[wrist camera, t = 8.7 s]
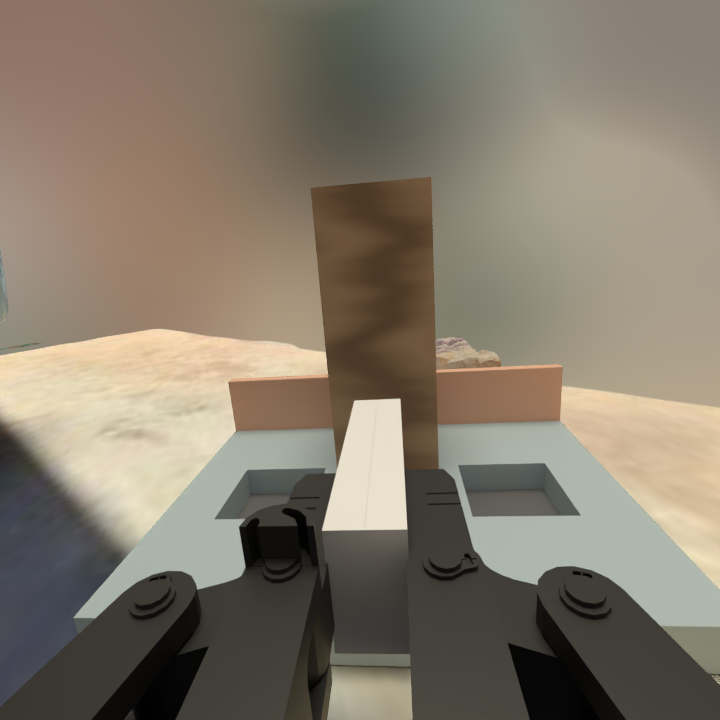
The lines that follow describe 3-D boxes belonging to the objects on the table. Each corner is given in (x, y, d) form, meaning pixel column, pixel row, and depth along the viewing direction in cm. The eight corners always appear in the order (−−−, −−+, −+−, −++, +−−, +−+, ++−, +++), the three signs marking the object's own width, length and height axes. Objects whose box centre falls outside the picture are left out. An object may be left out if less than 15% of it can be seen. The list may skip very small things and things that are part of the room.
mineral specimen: (539, 415, 37) (541, 345, 35) (479, 437, 33) (479, 361, 32) (442, 381, 47) (441, 327, 46) (390, 395, 44) (386, 337, 43)
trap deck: (85, 658, 17) (46, 527, 15) (242, 450, 34) (231, 378, 32) (744, 674, 14) (777, 520, 13) (554, 442, 31) (558, 364, 30)
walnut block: (337, 473, 25) (310, 187, 21) (348, 431, 31) (329, 200, 27) (438, 471, 25) (431, 176, 21) (430, 428, 30) (423, 192, 26)
